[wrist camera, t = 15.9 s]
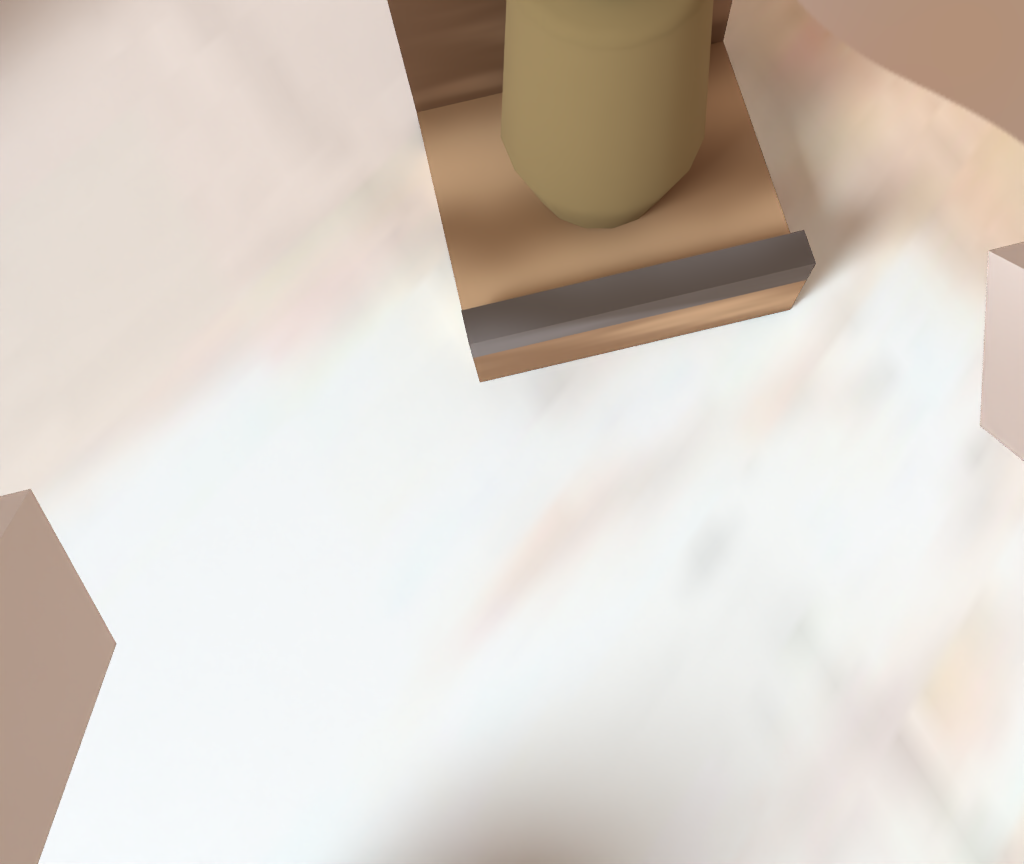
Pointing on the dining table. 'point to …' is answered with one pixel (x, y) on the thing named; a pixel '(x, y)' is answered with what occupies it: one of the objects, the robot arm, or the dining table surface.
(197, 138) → the dining table surface
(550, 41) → the squeeze bottle
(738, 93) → the wooden bookend
